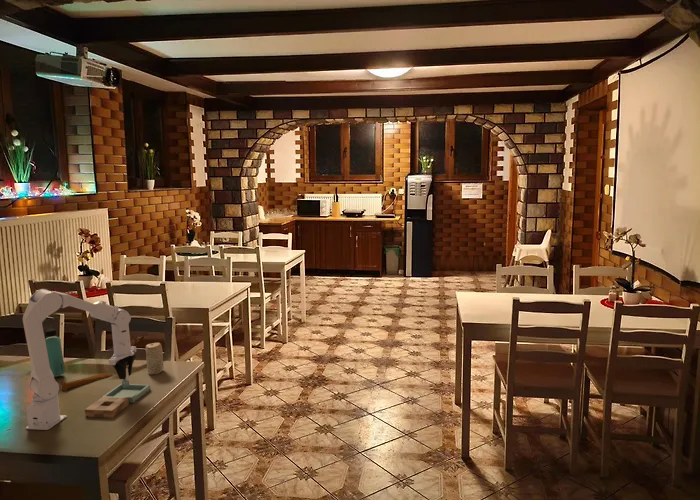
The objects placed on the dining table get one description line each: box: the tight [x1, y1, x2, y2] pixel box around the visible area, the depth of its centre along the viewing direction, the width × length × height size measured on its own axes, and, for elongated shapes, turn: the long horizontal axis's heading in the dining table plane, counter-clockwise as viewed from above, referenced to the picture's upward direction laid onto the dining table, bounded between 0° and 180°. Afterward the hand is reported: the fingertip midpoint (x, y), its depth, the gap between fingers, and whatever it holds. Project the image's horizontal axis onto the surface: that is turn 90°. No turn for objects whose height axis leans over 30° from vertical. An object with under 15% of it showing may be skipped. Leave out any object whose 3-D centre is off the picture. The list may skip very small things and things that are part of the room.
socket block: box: [84, 396, 130, 419], centre depth 186 cm, size 10×10×2 cm
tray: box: [102, 383, 151, 404], centre depth 197 cm, size 12×12×2 cm
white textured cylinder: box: [145, 342, 164, 376], centre depth 219 cm, size 6×8×12 cm
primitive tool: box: [61, 372, 114, 391], centre depth 212 cm, size 19×6×4 cm, turn 148°
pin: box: [121, 364, 130, 388], centre depth 196 cm, size 3×3×8 cm
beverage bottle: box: [44, 328, 66, 377], centre depth 217 cm, size 6×7×20 cm
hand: (125, 377), depth 196 cm, fingers closed on pin, 3 cm apart
